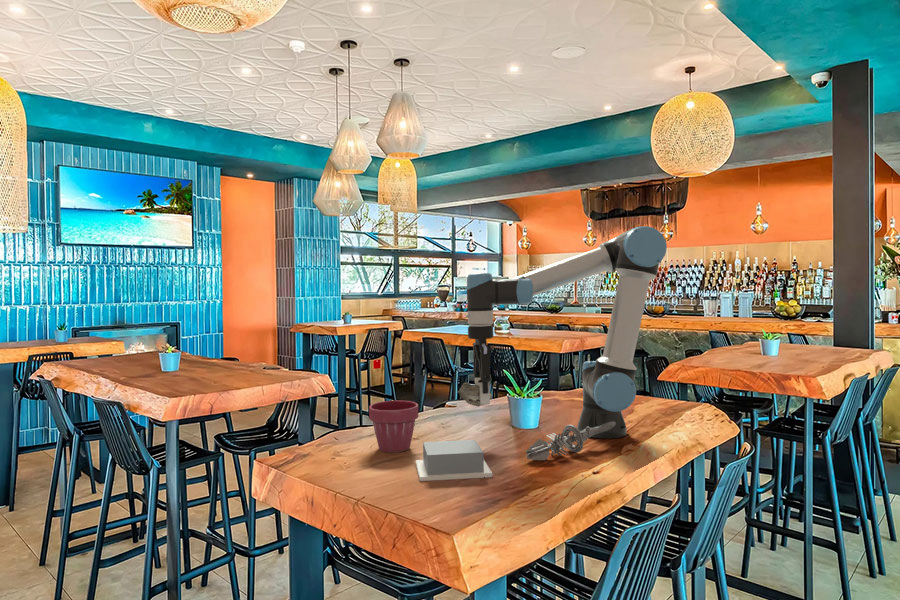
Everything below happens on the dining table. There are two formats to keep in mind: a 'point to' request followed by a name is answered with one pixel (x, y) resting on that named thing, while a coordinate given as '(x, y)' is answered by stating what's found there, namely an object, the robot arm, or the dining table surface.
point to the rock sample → (471, 394)
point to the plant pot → (393, 424)
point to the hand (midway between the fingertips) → (482, 401)
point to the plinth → (452, 461)
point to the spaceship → (565, 441)
